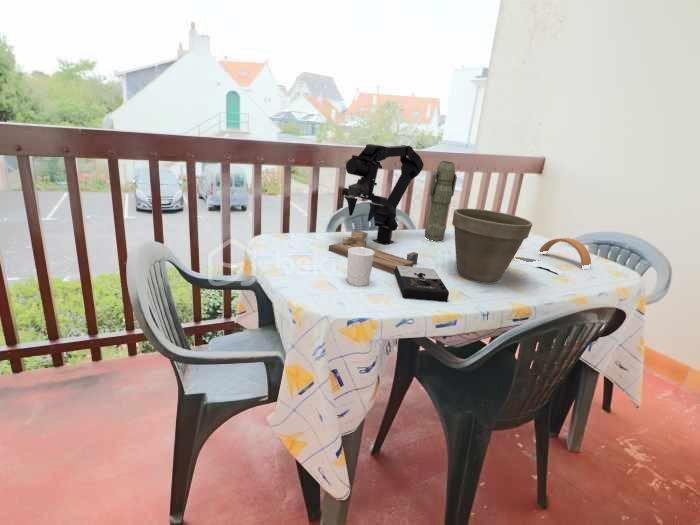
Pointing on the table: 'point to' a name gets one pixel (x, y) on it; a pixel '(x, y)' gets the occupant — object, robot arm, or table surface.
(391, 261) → the walnut board
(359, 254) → the white cup
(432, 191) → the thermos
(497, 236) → the plant pot
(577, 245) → the arch
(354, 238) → the marking gauge
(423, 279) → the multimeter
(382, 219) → the robot arm
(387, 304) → the table surface
